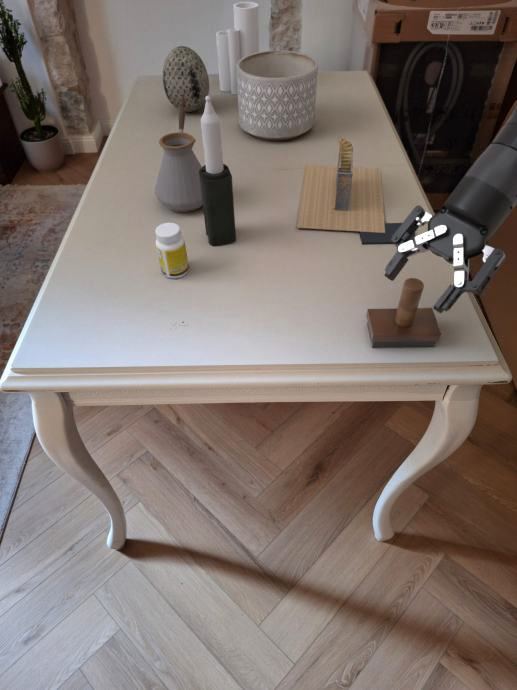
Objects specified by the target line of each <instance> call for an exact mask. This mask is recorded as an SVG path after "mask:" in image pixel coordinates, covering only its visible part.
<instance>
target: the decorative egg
mask: <svg viewBox="0 0 517 690" xmlns="http://www.w3.org/2000/svg"><path fill="white" fill-rule="evenodd" d="M208 73H209V72H208V69H207V67H206V65H205V62H204V61H203V59H202V58H201V56H200V55H199V53H197V52H196V51H195V50H194V49H192V48H190V47H188V46H186V45H185V46H184V45H180V46H177V47H174V48H172V49H171V50H170V52H169V53H168V54H167V55H166V58H165V60H164V63H163V67H162V86H163V90H164V94H165V96H166V97H167V98H166V99H168V101H169V102H170V104H171V105H172V106H174V108H176V109H177V110H179V111H180V106H179V104H180V103H181V99H179V98H181V97H182V96H184V97H186V98H188V99H189V100H190V101H189V100H188V99H186V98H185V102H184V104H186V103H188V102H189V103H188V104H186V107H185V108H184V109H185V113H186V112H187V113H192V112H195V111H197V110H199V109H200V108H202V107H203V106H204V104H206V100H205V98H206V96H209V93H210V79H209V74H208ZM178 100H179V102H180V103H179V102H178Z"/></svg>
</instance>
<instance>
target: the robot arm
mask: <svg viewBox="0 0 517 690" xmlns="http://www.w3.org/2000/svg"><path fill="white" fill-rule="evenodd" d="M516 206H517V103H516V104H515V106H514V108H513V109H512V111H511V113H510V116H509V117H508V118H507V119H506V121H505V123H504V124H503V125H502V126H501V128H500V130H499V131H498V132H497V134H496V135H495V136H494V138H493V139H492V141H491V142H490V143H489V145H487V147H486V148H485V149H484V151H482V152H481V154H480V155H479V156H478V157H477V158H476V159H475V160H474V162H473V163H472V164H471V166H470V167H469V168H468V170H467V171H466V173H465V174H464V175H463V177H462V178H461V180H460V181H459V182H458V183H457V185H456V186H455V188H454V189H453V191H452V192H451V194H449V196H448V197H447V199H446V200H445V202H444V203H443V205H442V206H441V208H440V210H439V211H438V212H437V213H434V215H432V214H431V213H429V212H427V211H426V210H425V209H424V208H423V206H422V205H415V207H414V208H413V209H412V210H411V212H410V213H409V214H408V215H407V217H406V218H405V219H404V220H403V222H401V223H402V224H401V225H400V227H399V228H398V229H397V231H396V232H395V233H394V234H393V236H392V237H391V241H392V242H393V243H394V244H393V245H394V246H395V248H396V252H395V253H394V255H393V256H392V257H391V259H390V260H389V261H388V263H387V265H386V266H385V269H384V272H385V273H384V277H385V278H387V279H388V280H390V281H391V282H393V281H394V280H396V278H397V277H398V275H400V273H401V271H402V270H403V269H404V267H405V266H406V265H407V263H408V262H409V258H410V257H413V256H415V255H417V254H420V253H427V252H431V253H432V254H433V255H435V256H437V257H439V258H443V259H444V261H445V262H447V263H448V264H449V265H452V264H453V270H454V271H453V273H454V276H453V278H454V279H453V285H452V284H449V286H448V287H447V288H446V289H445V290H444V292H443V293H442V294H441V296H440V297H439V299H438V300H437V301H436V302H435V304H434V305H433V307H432V309H433V310H434V311H436V312H438V313H439V314H442V313H443V312H449V311H450V310H451V309H452V308H453V307H454V305H455V304H456V302H457V301H458V300H459V298H461V296H462V295H463V294H464V293H470V294H474V295H476V296H479V295H481V294H483V293H484V291H485V290H486V289H487V287H488V285H489V284H490V282H491V281H492V280H493V279H494V277H495V275H496V274H497V272H498V271H499V270H500V268H501V266H503V264H504V263H505V261H506V258H507V257H506V254H505V252H504V250H503V249H502V248H500V247H496V248H495V247H492V246H490V245H488V243H489V241H490V240H491V238H492V237H493V236H494V234H495V233H496V232H497V230H498V229H499V228H500V226H501V225H502V224H503V223H504V221H505V220H506V219H507V217H508V216H509V215H510V213H511V212H512V211H513V210H514V208H516ZM425 225H427V231H426V232H423V233H421V234H418V235H416V237H414V238H413V239H412V240H410V241H408V240H409V239H410V238H411V236H412V235H413V234H414V233H415V234H416V232H417V231H418V229H419V228H422V227H424V226H425ZM407 241H408V242H407ZM482 254H483V257H482V262H483V264H482V266H481V267H480V268H479V270H478V271H477V272H476V274H475V276H474V277H473V279H472V280H469V274H470V259H472V258H476V257H478V256H481V255H482Z"/></svg>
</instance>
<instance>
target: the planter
mask: <svg viewBox="0 0 517 690" xmlns="http://www.w3.org/2000/svg"><path fill="white" fill-rule="evenodd" d="M236 69H237V89H238V95H237V106H238V125H239V126H240V128H241V129H242V130H243V131H245V132H246V133H247V134H250V135H252V136H253V137H255V138H257V139H261V140H267V141H286V140H291V139H295V138H297V137H300V136H301V135H303V134H305V133H307V132H308V131H310V130H311V129H312V128H313V126H314V125H315V119H316V118H315V117H316V100H317V87H318V86H317V85H318V70H319V62H318V60H317V59H316V58H314V57H313V56H311V55H309V54H307V53H302V52H300V51H293V50H283V49H282V50H279V49H278V50H265V51H259V52H258V53H253V54H250V55H247V56H245V57H243V58H241V59H240V60H239V61H238V62H237V65H236Z"/></svg>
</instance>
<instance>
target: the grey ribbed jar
mask: <svg viewBox="0 0 517 690" xmlns="http://www.w3.org/2000/svg"><path fill="white" fill-rule="evenodd" d="M185 98H186V97H184V96H182V97H181V98H179V99H181V103H180V102H179V100H178V102H179V103H180V104H179V106H180V110H179V112H178V131H177V132H170V133H167V134H164V135H163V136H162V137H160V138H159V140H158V145H160V147H161V148H162V149H163V151H164V152H163V156H162V160H161V164H160V168H159V171H158V176H157V179H156V184H155V187H154V195H155V197H156V199H157V201H159V202H160V204H162V205H163V206H164V207H165V208H168V209H170V210H171V211H173V212H177V213H190V212H193V211H196V210H199V209H200V208H201V207H203V203H202V194H201V186H200V178H199V170H200V169H201V168H202V167H203V166H202V165H201V163H200V161H199V159H198V158H197V156H196V154H195V152H194V151H193V147H194V144H195V143H196V141H197V140H196V139H195V137H194V136H193V135H192V134H190V133H186V132H184V129H185V121H186V112H185V109H184V108H185V107H186V104H188V103H189V102H188V103H186V104H184V102H185ZM186 99H188V98H186ZM188 100H189V99H188ZM189 101H190V100H189Z"/></svg>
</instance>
